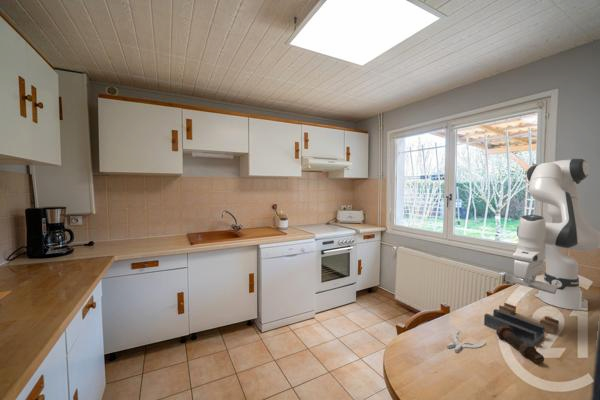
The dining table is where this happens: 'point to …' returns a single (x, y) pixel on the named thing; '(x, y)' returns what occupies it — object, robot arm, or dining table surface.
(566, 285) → the robot arm
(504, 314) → the v block
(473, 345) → the pliers
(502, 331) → the bolt
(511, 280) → the axle
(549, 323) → the beam
